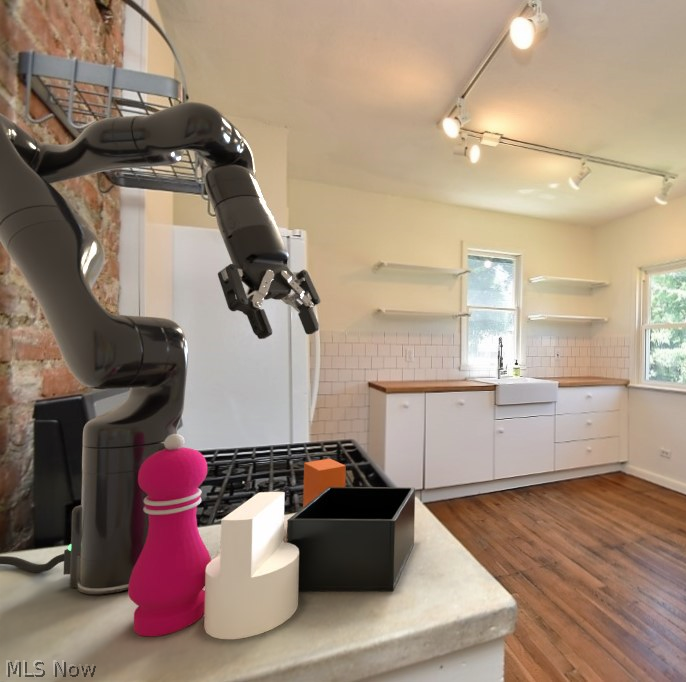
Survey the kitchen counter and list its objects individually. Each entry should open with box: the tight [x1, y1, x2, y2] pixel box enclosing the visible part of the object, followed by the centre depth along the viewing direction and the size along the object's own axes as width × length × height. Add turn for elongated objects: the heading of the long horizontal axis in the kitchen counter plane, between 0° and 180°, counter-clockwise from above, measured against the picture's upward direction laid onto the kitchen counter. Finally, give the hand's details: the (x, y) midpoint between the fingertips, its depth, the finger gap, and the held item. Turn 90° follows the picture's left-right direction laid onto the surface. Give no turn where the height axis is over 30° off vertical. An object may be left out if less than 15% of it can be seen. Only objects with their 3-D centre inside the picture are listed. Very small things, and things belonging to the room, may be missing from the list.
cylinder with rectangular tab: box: [203, 491, 299, 640], centre depth 50 cm, size 9×9×12 cm
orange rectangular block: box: [302, 458, 347, 508], centre depth 75 cm, size 4×6×10 cm
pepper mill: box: [127, 433, 212, 637], centre depth 49 cm, size 7×7×20 cm
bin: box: [286, 486, 416, 592], centre depth 61 cm, size 13×13×9 cm
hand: (290, 334), depth 66 cm, fingers open, 8 cm apart
